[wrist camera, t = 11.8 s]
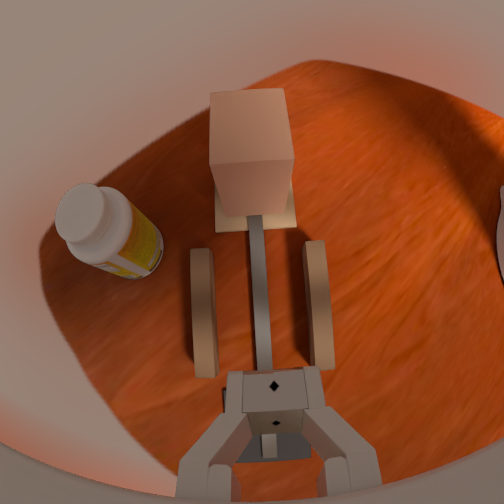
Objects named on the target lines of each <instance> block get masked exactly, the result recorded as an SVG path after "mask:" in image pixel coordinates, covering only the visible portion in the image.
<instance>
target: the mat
mask: <svg viewBox="0 0 504 504" xmlns="http://www.w3.org/2000/svg"><path fill="white" fill-rule="evenodd" d="M262 218H263V230H266V229H282V228H296V227H297V225H296V216H295V207H294V198H293V190H292V182H290V187H289V192H288V197H287V203H286V208H285V213H283V214H266V215H262ZM236 231H249V220H248V216H236V217H226V215H225V212H224V209H223V206H222V203H221V200H220V197H219V194H218V191H217V187H216V184H215V232H216V233H221V232H236Z"/></svg>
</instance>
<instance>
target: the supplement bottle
mask: <svg viewBox="0 0 504 504" xmlns="http://www.w3.org/2000/svg"><path fill="white" fill-rule="evenodd" d="M55 225H56V229H57V232H58V234H59V235H60V236H61V237H62V238H63V239H64V240H66V243H67V246H68V248H69V250H70V252H71V253H72V254H73V255H74V256H75V257H76V258H77V259H79V260H80V261H82V262H84V263H87V264H89V265H92V266H95V267H97V268H100V269H102V270H105V271H107V272H110V273H113V274H115V275H118V276H121V277H124V278H127V279H140V278H143V277H145V276H147V275H149V274H150V273H151V272H153V271H154V270H155V268H156V267H157V266H158V264H159V263H160V261H161V258H162V255H163V249H164V245H163V238H162V235H161V233H160V231H159V230H158V228H157V227H156V226H155V225H154V224H153V223H152V222H151V221H150V220H149V219H148V218H147V217H146V216H145V215H144V214H143V213H142V212H140V211H139V210H138V209H137V208H136V207H135V206H134V205H133V204H132V203H131V202H130V201H129V200H128V199H127V198H126V197H125V196H124V195H123V194H122V193H121V192H119V191H118V190H116V189H114V188H111V187H97V186H96V185H94V184H91V183H82V184H79V185H77V186H74V187H73V188H71V189H70V190H69V191H68V192H67V193H66V194H65V195H64V196H63V197H62V199H61V201H60V202H59V205H58V207H57V211H56V215H55Z"/></svg>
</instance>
